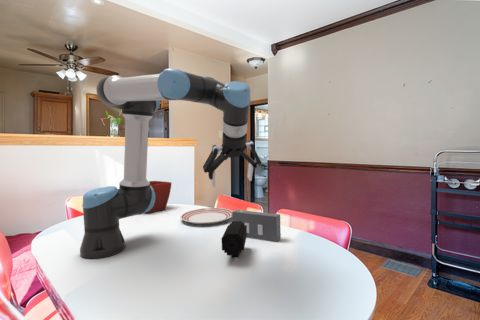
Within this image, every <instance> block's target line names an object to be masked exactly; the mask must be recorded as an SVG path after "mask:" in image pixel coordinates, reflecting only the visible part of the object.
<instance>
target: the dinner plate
mask: <svg viewBox="0 0 480 320" xmlns="http://www.w3.org/2000/svg"><path fill="white" fill-rule="evenodd" d="M233 211H234V210H231V209H228V208H224V207H223V208H222V207H205V208H204V207H203V208H197V209H196V208H195V209H193V210H192V209H191V210H188V211H186V212H184V213H182V214H181V215H180V219H181V220H182V221H184V222H186V223H189V224H192V225H193V224H195V225H204V226H207V225H215V224H219V223H222V222H224V221H227V220H229V219H231V218H232V212H233Z"/></svg>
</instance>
